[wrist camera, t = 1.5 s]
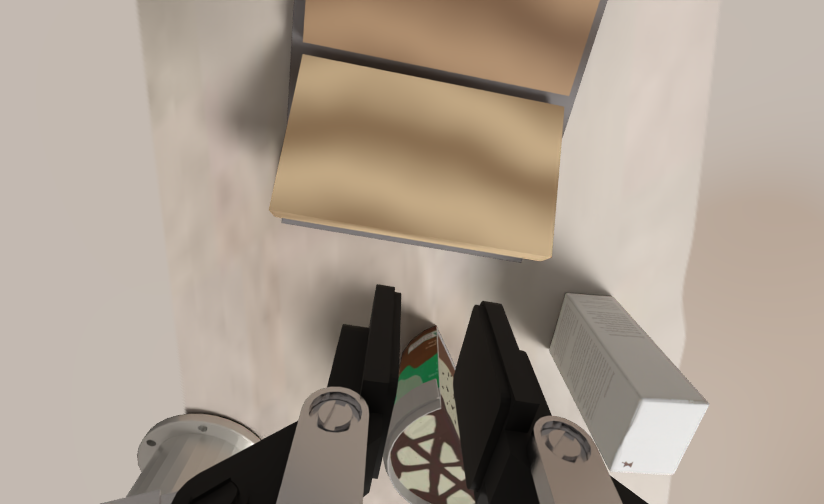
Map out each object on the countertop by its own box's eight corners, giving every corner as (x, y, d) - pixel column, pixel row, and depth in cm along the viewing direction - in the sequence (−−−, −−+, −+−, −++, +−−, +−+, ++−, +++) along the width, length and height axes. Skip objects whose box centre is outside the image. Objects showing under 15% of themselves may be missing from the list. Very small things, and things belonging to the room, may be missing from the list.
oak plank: (540, 261, 25) (551, 257, 24) (274, 216, 24) (268, 209, 22) (553, 118, 27) (564, 106, 26) (306, 69, 26) (302, 54, 24)
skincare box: (595, 353, 36) (674, 478, 26) (547, 349, 36) (607, 474, 25) (616, 293, 34) (714, 404, 23) (564, 289, 34) (639, 399, 23)
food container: (362, 335, 35) (347, 429, 26) (430, 311, 34) (437, 401, 25) (416, 431, 40) (419, 540, 31) (477, 413, 39) (497, 519, 30)
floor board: (517, 257, 32) (526, 271, 30) (285, 218, 31) (275, 230, 29) (616, -49, 24) (638, -60, 22) (305, -122, 23) (294, -142, 20)
